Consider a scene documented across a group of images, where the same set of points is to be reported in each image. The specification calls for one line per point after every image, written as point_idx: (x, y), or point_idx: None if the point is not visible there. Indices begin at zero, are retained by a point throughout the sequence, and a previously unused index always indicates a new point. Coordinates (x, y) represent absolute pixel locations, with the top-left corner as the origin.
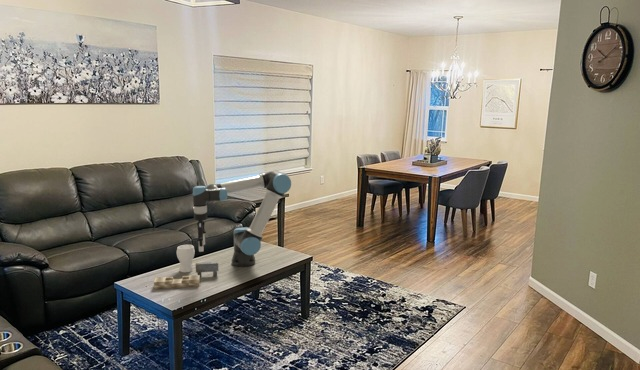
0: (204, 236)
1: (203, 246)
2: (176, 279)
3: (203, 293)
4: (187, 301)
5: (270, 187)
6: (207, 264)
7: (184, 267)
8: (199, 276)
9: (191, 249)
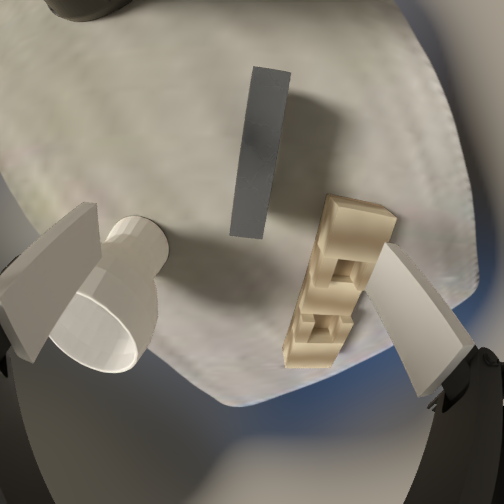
0: (29, 270)
1: (427, 280)
2: (311, 302)
3: (447, 201)
4: (465, 257)
5: None
6: (275, 153)
7: (158, 268)
8: (347, 206)
9: (114, 299)
